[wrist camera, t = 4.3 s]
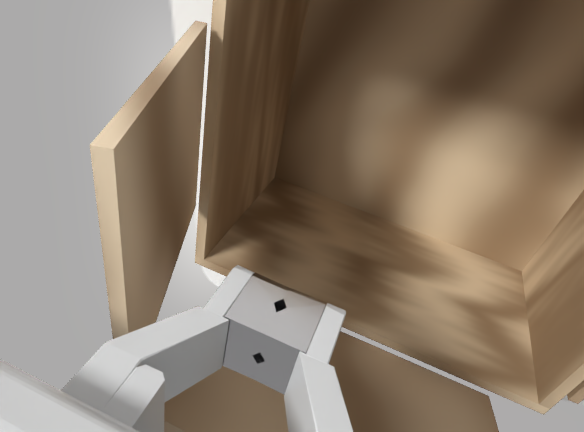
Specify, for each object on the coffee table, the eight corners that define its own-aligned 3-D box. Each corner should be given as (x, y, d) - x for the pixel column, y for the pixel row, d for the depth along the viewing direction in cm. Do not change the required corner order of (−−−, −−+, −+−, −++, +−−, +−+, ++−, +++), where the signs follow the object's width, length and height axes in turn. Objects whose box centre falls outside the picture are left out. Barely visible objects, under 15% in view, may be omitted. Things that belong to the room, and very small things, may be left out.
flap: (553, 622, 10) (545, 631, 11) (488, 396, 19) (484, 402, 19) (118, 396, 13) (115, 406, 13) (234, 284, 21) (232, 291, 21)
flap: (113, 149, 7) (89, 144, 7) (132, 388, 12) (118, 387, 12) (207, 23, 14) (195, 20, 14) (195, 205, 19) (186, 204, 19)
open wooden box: (764, -9, 16) (1024, 38, 9) (534, 278, 26) (557, 420, 19) (325, -114, 20) (223, -150, 12) (269, 177, 30) (194, 262, 22)
